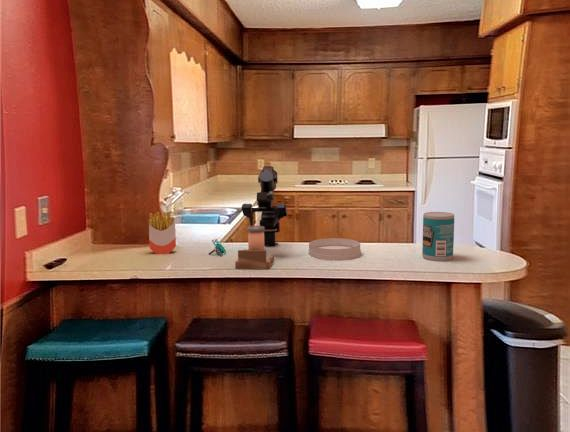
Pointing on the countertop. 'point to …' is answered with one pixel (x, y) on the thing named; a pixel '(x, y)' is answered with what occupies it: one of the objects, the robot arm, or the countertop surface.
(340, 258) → the dish
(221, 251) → the stick construction toy
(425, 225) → the food can
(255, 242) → the jar
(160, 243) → the french fries container
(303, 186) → the countertop surface
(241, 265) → the brown wooden frame
